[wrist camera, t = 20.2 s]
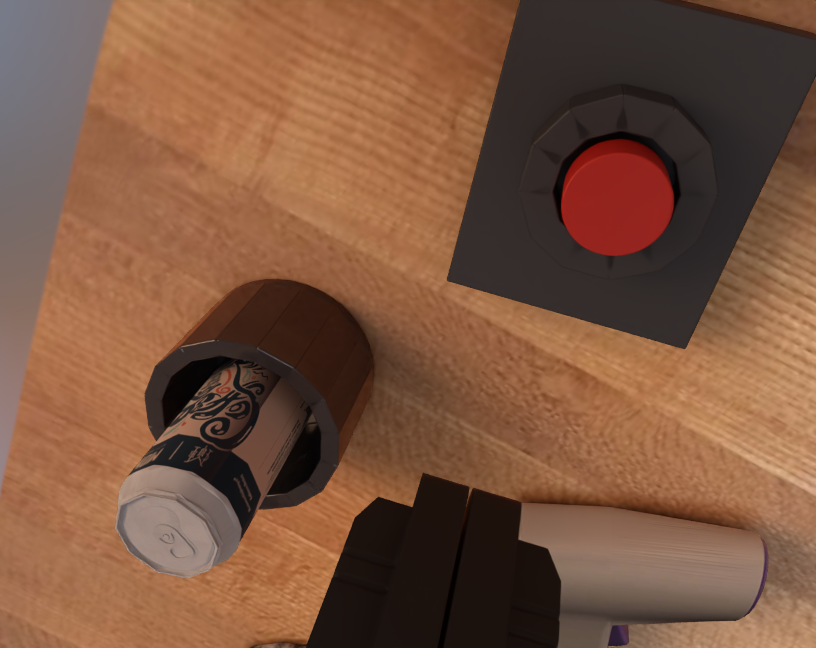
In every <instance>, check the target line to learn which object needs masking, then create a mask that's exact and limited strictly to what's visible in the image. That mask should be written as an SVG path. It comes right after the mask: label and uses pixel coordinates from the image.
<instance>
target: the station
mask: <svg viewBox="0 0 816 648" xmlns="http://www.w3.org/2000/svg"><path fill="white" fill-rule="evenodd" d="M815 77H816V34H814V33H811V32H807V31H803V30H799V29H795V28H791V27H787V26H783V25H779V24H775V23H771V22H767V21H763V20H759V19H755V18H751V17H747V16H743V15H739V14H735V13H730V12H726V11H722V10H718V9H714V8H710V7H706V6H702V5H698V4H694V3H690V2H686V1H682V0H520V3H519V6H518V10H517V14H516V18H515V22H514V25H513V29H512V33H511V37H510V41H509V44H508V48H507V52H506V56H505V60H504V64H503V67H502V71H501V75H500V79H499V83H498V86H497V90H496V94H495V98H494V102H493V105H492V109H491V113H490V117H489V121H488V124H487V128H486V132H485V136H484V140H483V144H482V147H481V151H480V155H479V159H478V163H477V166H476V170H475V174H474V178H473V182H472V185H471V189H470V193H469V197H468V201H467V205H466V208H465V212H464V216H463V220H462V224H461V227H460V231H459V235H458V239H457V243H456V246H455V250H454V254H453V258H452V262H451V266H450V269H449V273H448V277H447V281H449V282H453V283H456V284H460V285H463V286H467V287H470V288H474V289H477V290H481V291H484V292H488V293H491V294H494V295H498V296H501V297H505V298H508V299H512V300H515V301H519V302H522V303H526V304H529V305H533V306H536V307H540V308H543V309H547V310H550V311H554V312H557V313H560V314H564V315H567V316H571V317H574V318H578V319H581V320H585V321H588V322H592V323H595V324H599V325H602V326H606V327H609V328H613V329H616V330H619V331H623V332H626V333H630V334H633V335H637V336H640V337H644V338H647V339H651V340H654V341H658V342H661V343H665V344H668V345H672V346H675V347H679V348H682V349H685V348H686V347H687V345H688V343H689V341H690V338H691V336H692V334H693V332H694V330H695V328H696V326H697V324H698V322H699V320H700V317H701V315H702V313H703V311H704V309H705V307H706V305H707V303H708V301H709V299H710V297H711V294H712V292H713V290H714V288H715V286H716V284H717V282H718V280H719V278H720V276H721V273H722V271H723V269H724V267H725V265H726V263H727V261H728V259H729V257H730V255H731V253H732V250H733V248H734V246H735V244H736V242H737V240H738V238H739V236H740V234H741V232H742V230H743V227H744V225H745V223H746V221H747V219H748V217H749V215H750V213H751V211H752V209H753V206H754V204H755V202H756V200H757V198H758V196H759V194H760V192H761V190H762V188H763V186H764V183H765V181H766V179H767V177H768V175H769V173H770V171H771V169H772V167H773V165H774V163H775V160H776V158H777V156H778V154H779V152H780V150H781V148H782V146H783V144H784V142H785V139H786V137H787V135H788V133H789V131H790V129H791V127H792V125H793V123H794V121H795V119H796V116H797V114H798V112H799V110H800V108H801V106H802V104H803V102H804V100H805V98H806V95H807V93H808V91H809V89H810V87H811V85H812V83H813V81H814V79H815ZM612 139H627V140H632V141H636V142H639V143H641V144H643V145H645V146H647V147H649V148H650V149H652V150H653V151H654V152H655V153H656V154H657V155H658V156H659V157H660V158H661V160H662V161H663V163H664V164H665V166H666V169H667V171H668V174H669V178H670V182H671V185H672V189H673V193H674V209H673V214H672V217H671V220H670V222H669V224H668V226H667V228H666V229H665V231H664V232H663V233H662V234H661V236H660V237H659V238H658V239H657V240H656V241H654V242H653V243H652V244H650V245H649V246H648V247H646V248H644V249H642V250H640V251H637V252H635V253H632V254H628V255H622V256H608V255H602V254H598V253H595V252H592V251H590V250H588V249H586V248H584V247H583V246H581V245H580V244H579V243H578V242H577V241H575V240H574V238H573V237H572V236H571V235H570V233H569V232H568V230H567V228H566V226H565V224H564V221H563V218H562V212H561V202H562V193H563V185H564V180H565V176H566V174H567V171H568V169H569V168H570V166H571V164H572V163H573V162H574V160H575V159H576V158H577V157H578V156H579V155H580V154H581V153H582V152H584V151H585V150H586V149H588V148H589V147H591V146H593V145H595V144H597V143H600V142H603V141H607V140H612Z"/></svg>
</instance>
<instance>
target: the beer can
mask: <svg viewBox="0 0 816 648" xmlns="http://www.w3.org/2000/svg"><path fill="white" fill-rule="evenodd" d="M311 415H312V410H311V408H310V406H309V405H308V403H307V402H306V401H305V400H304V399H303V398H302V397H301V396H300V395H299V394H298V393H297V392H296V391H295V390H294V389H293V388H292V387H291V386H290V384H289V383H288V382H287V381H286V380H285V379H283V378H282V377H280V376H278V375H276V374H274V373H272V372H271V371H269V370H267V369H265V368H263V367H262V366H260V365H258V364H256V363H254V362H250V361H245V360H239V359H234V358H229V357H226V358H225V359H224V360H223V362H222V363H221V364H220V365H219V367H218V368H217V369H216V370H215V371H214V373H213V374H212V375H211V376H210V377H209V379H208V380H207V381H206V382H205V383H204V385H203V386H202V387H201V388H200V389H199V391H198V392H197V393H196V394H195V396H194V397H193V398H192V399H191V400H190V402H189V403H188V404H187V405H186V406H185V408H184V409H183V410H182V411H181V412H180V414H179V415H178V416H177V417H176V418H175V420H174V421H173V422H172V423H171V425H170V426H169V427H168V428H167V429H166V431H165V432H164V433H163V434H162V435H161V437H160V438H159V439H158V440H157V441H156V443H155V444H154V445H153V446H152V447H151V449H150V450H149V451H148V452H147V454H146V455H145V456H144V457H143V458H142V460H141V461H140V462H139V463H138V464H137V466H136V467H135V468H134V469H133V470H132V472H131V473H130V474H129V475H128V476H127V478H126V479H125V481H124V483H123V484H122V486H121V489H120V494H119V498H118V507H119V508H118V511H117V520H116V525H115V528H116V530H117V532H118V534H119V535H120V537H121V539H122V541H123V543H124V544H125V546H126V548H127V550H128V551H129V553H130V554H132V555H133V556H135V557H136V558H137V559H139V560H140V561H142V562H143V563H145V564H146V565H147V566H149V567H150V568H152V569H153V570H155V571H156V572H159V573H164V574H169V575H173V576H178V577H183V578H190V577H193V576H195V575H198V574H201V573H203V572H206V571H209V570H211V569H212V567H214V566H216V565H218V564H220V563H222V562H224V561H226V560H228V559H229V558H230V556H232V555H233V553H234V552H235V551H236V550H237V548H238V545H239V542H240V541H241V539H242V537H243V535H244V533H245V532H246V530H247V528H248V526H249V525H250V523H251V521H252V519H253V518H254V516H255V514H256V512H257V510H258V509H259V507H260V505H261V503H262V502H263V500H264V498H265V496H266V494H267V493H268V491H269V489H270V487H271V486H272V484H273V482H274V480H275V479H276V477H277V475H278V473H279V471H280V470H281V468H282V466H283V464H284V463H285V461H286V459H287V457H288V455H289V454H290V452H291V450H292V448H293V447H294V445H295V443H296V441H297V440H298V438H299V436H300V434H301V432H302V431H303V429H304V427H305V425H306V424H307V422H308V420H309V418H310V416H311Z"/></svg>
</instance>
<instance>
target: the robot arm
mask: <svg viewBox="0 0 816 648" xmlns="http://www.w3.org/2000/svg"><path fill="white" fill-rule="evenodd" d="M468 494H469V487H468V486H465V485H462V484H459V483H455V482H452V481H449V480H445V479H442V478H439V477H435V476H432V475H429V474H425V473H423V474H422V477H421V481H420V484H419V487H418V491H417V494H416V498H415V501H414V505H413V507H410V506H406V505H403V504H400V503H397V502H393V501H390V500H387V499H384V498H380V497H378V498H376V499H375V500H374V501H373V502H372V503H371V504H370V505H369V506H368V507H366V508H365V509H364V510H363V511H362V512H361V513H360V514H359V515H358V516H356V517H355V519H354V522H353V524H352V527H351V530H350V532H349V535H348V538H347V540H346V543H345V545H344V549H343V552H342V553H341V556H340V559H339V561H338V564H337V567H336V569H335V572H334V575H333V578H332V580H331V582H330V585H329V588H328V590H327V593H326V595H325V598H324V601H323V603H322V606H321V609H320V611H319V614H318V617H317V619H316V622H315V624H314V627H313V630H312V632H311V635H310V638H309V640H308V643H307V645H306V648H558V643H559V626H560V621H559V616H560V601H561V579H560V577H559V574H558V572H557V569H556V567H555V564H554V562H553V560H552V557H551V555H550V552H549V550H548V548H545V547H541V546H538V545H535V544H532V543H528V542H525V541H522V540H518V537H519V527H520V518H521V508H522V505H521V502H519V501H516V500H512V499H509V498H506V497H502V496H499V495H496V494H492V493H489V492H486V491H482V490H479V489H476V488H473V489H472V491H471V494H470V497H469V500H468ZM467 500H468V503H467ZM466 504H467V506H466Z"/></svg>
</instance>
